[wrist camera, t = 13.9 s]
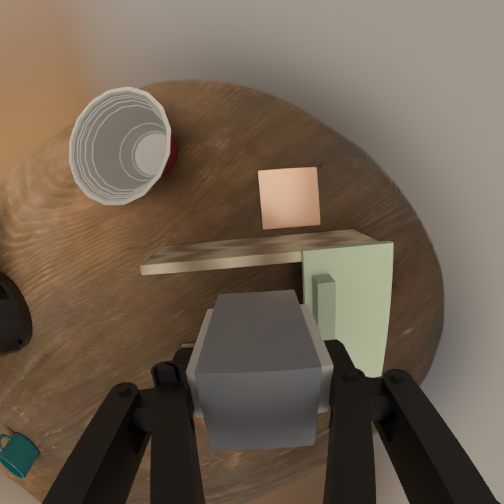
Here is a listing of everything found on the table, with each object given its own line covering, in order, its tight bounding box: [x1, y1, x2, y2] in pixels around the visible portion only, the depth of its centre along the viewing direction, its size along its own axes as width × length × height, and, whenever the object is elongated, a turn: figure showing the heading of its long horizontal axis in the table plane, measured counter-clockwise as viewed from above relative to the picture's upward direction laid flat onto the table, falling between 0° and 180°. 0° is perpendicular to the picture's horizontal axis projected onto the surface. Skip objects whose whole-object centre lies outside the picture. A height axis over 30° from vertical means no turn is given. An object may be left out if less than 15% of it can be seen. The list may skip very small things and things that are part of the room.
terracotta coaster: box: [258, 167, 320, 229], centre depth 35 cm, size 7×7×1 cm
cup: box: [0, 433, 39, 479], centre depth 42 cm, size 9×12×11 cm
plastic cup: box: [69, 87, 177, 205], centre depth 28 cm, size 11×11×12 cm
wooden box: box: [140, 229, 379, 348], centre depth 33 cm, size 24×15×9 cm, turn 95°
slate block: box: [194, 290, 322, 450], centre depth 14 cm, size 4×4×8 cm
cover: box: [301, 241, 393, 378], centre depth 27 cm, size 9×16×3 cm, turn 5°
